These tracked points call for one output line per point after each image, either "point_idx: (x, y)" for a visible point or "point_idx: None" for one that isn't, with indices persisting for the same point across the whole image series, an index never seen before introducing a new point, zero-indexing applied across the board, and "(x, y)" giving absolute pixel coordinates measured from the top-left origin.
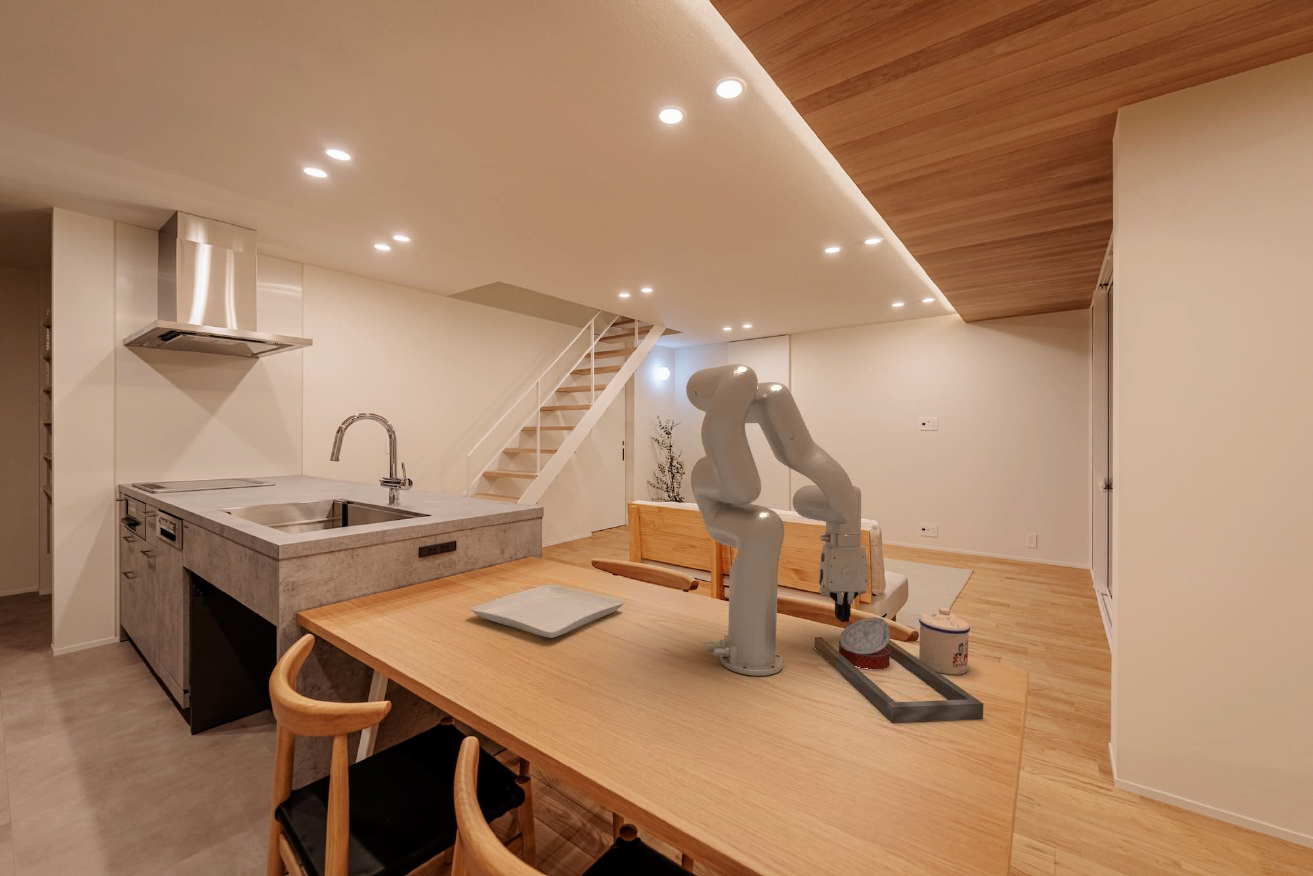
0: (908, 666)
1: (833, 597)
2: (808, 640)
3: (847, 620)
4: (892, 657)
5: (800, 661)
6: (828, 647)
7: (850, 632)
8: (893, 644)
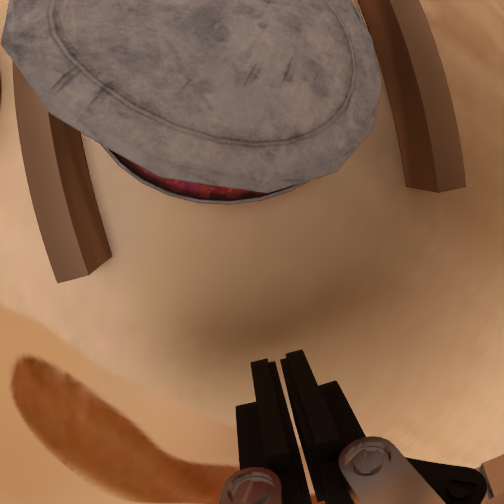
0: None
1: (443, 475)
2: (428, 280)
3: (265, 362)
4: None
5: (484, 61)
6: (428, 47)
7: (315, 98)
8: (37, 150)
